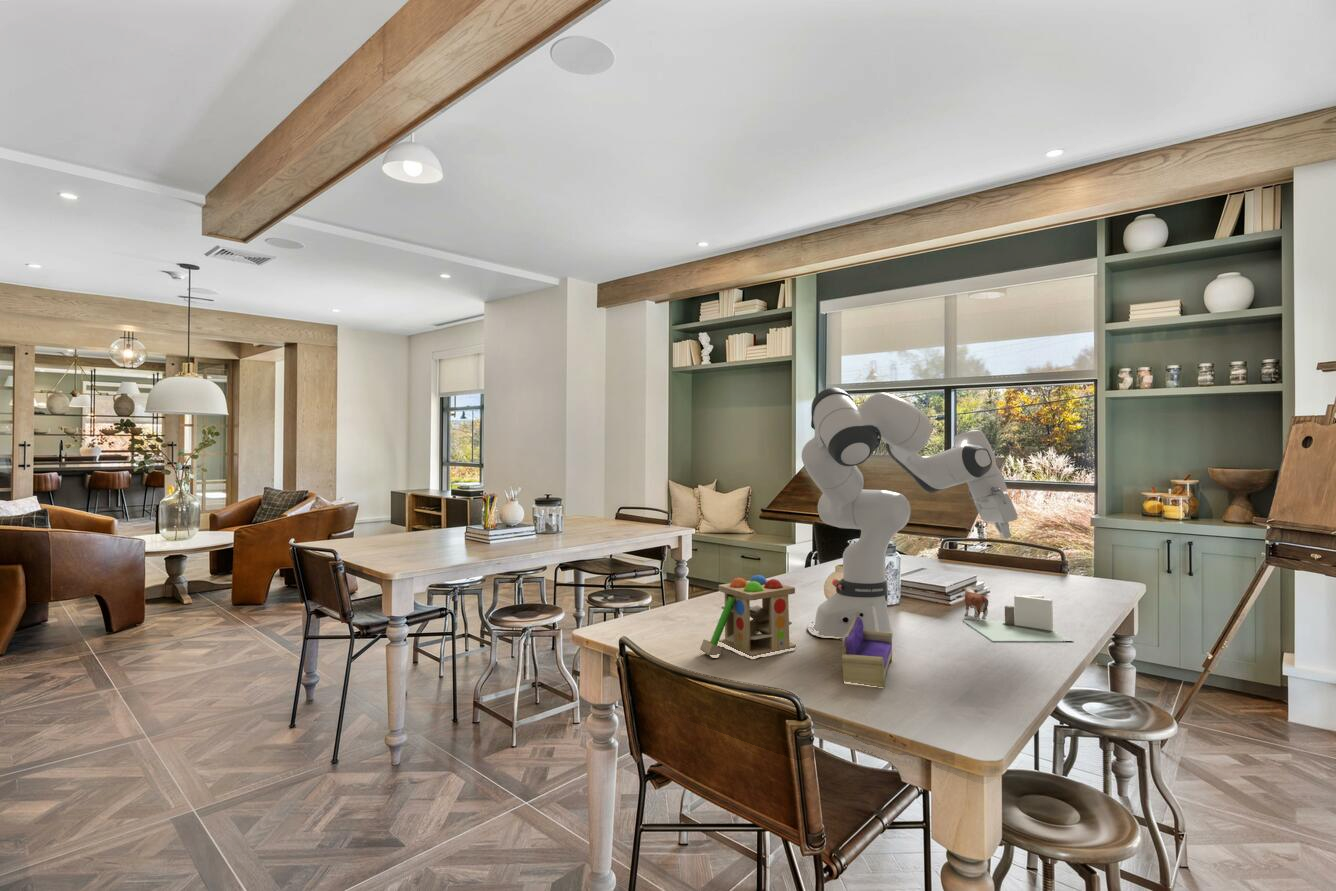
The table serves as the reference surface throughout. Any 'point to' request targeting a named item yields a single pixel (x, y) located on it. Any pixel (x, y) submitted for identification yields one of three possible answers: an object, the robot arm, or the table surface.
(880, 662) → the toy sofa
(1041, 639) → the mat
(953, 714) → the table surface
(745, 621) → the pounding bench toy
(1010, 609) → the fixed rail
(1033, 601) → the white rectangular slab
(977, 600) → the bull figurine
